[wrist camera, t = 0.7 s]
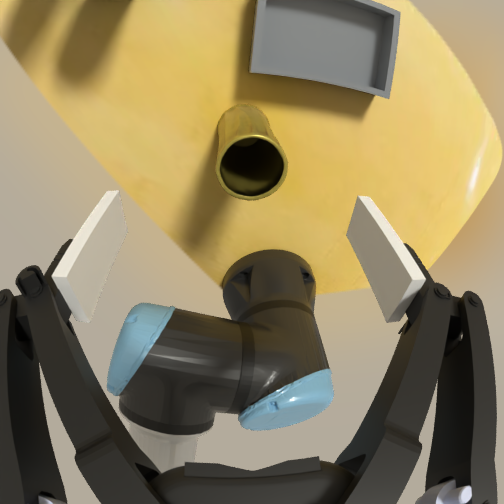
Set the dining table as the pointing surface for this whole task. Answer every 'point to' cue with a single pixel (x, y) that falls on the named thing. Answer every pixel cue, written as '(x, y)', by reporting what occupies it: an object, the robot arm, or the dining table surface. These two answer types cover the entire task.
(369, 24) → the tray
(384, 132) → the dining table surface
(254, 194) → the vase
